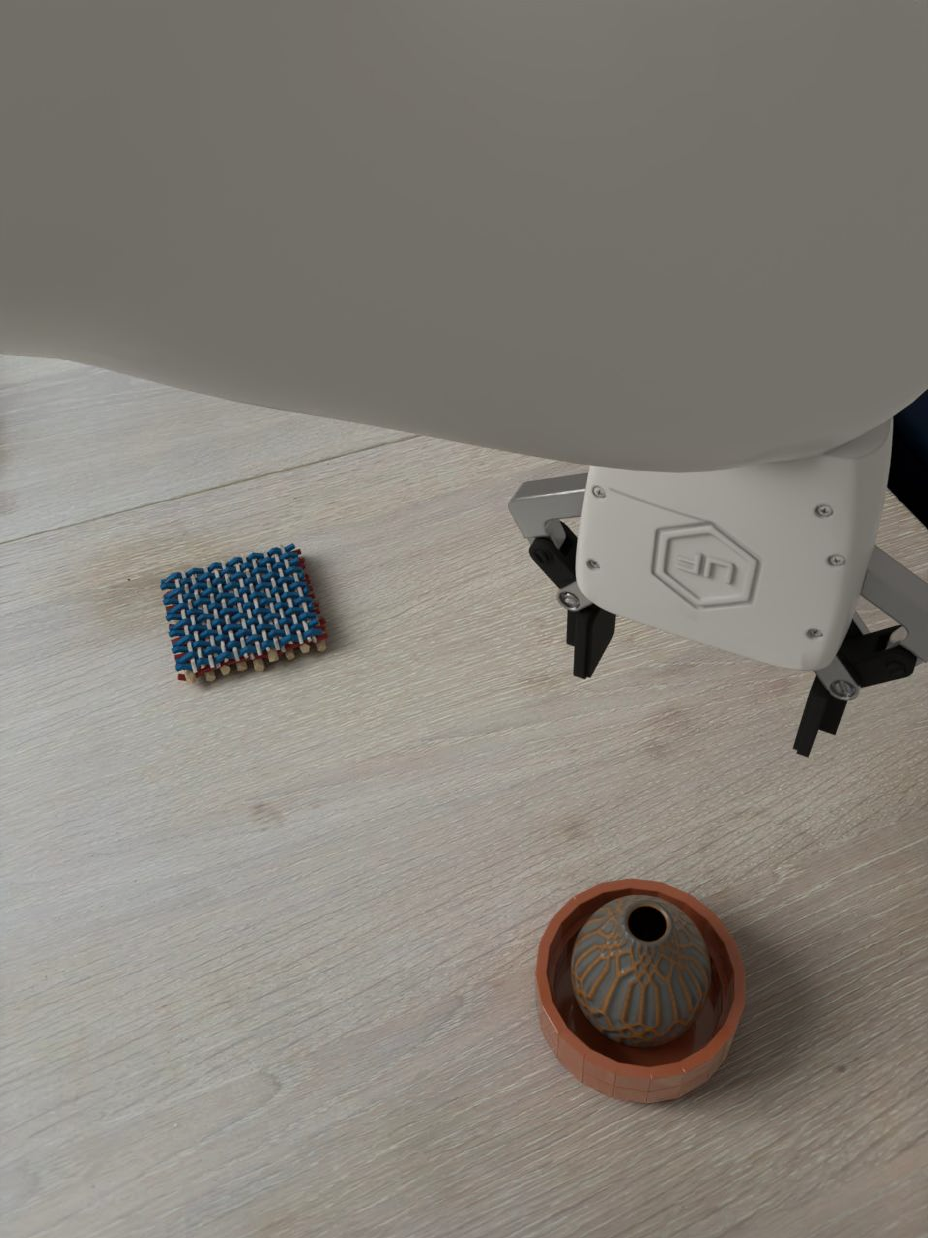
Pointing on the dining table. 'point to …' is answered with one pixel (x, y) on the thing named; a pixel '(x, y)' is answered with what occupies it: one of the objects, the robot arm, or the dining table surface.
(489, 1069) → the dining table surface
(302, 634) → the woven mat
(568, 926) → the bowl
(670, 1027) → the vase
